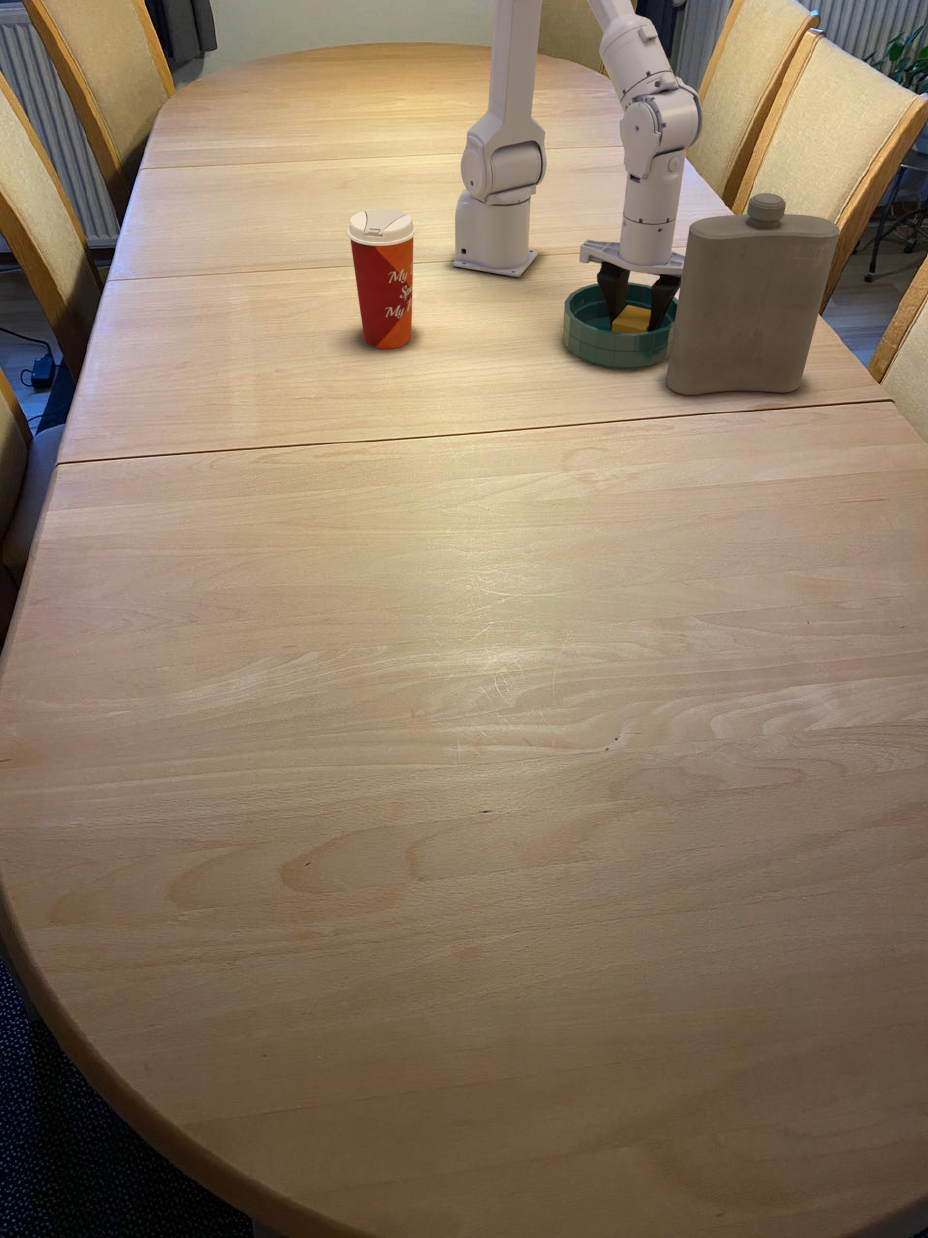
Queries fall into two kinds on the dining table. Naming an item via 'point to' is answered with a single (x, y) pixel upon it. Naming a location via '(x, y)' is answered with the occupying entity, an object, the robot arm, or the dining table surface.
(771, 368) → the flask
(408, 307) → the paper cup
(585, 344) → the bowl
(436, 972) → the dining table surface
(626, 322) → the yellow block
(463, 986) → the dining table surface
